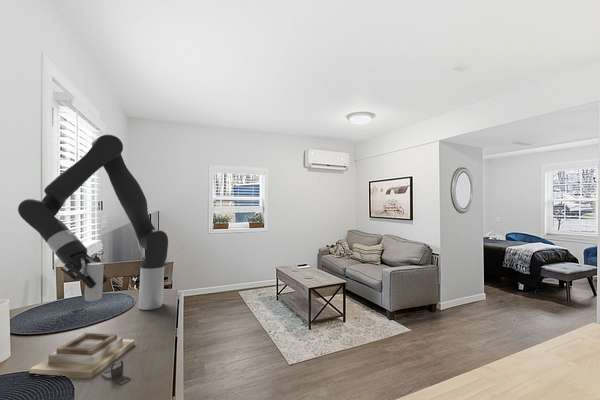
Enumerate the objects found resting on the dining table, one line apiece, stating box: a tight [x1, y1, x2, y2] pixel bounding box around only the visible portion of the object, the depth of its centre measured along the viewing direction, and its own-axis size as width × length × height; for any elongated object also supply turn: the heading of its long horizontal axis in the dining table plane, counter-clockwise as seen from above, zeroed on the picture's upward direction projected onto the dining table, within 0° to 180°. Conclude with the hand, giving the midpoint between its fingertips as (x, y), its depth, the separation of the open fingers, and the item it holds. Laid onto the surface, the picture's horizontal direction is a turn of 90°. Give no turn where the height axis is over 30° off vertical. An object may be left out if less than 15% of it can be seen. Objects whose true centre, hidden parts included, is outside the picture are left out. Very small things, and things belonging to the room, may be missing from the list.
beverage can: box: [84, 261, 105, 302], centre depth 95 cm, size 5×5×12 cm
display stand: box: [28, 332, 136, 379], centre depth 80 cm, size 18×16×5 cm
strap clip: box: [101, 360, 132, 386], centre depth 72 cm, size 8×3×4 cm, turn 62°
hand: (99, 284), depth 95 cm, fingers closed on beverage can, 4 cm apart
